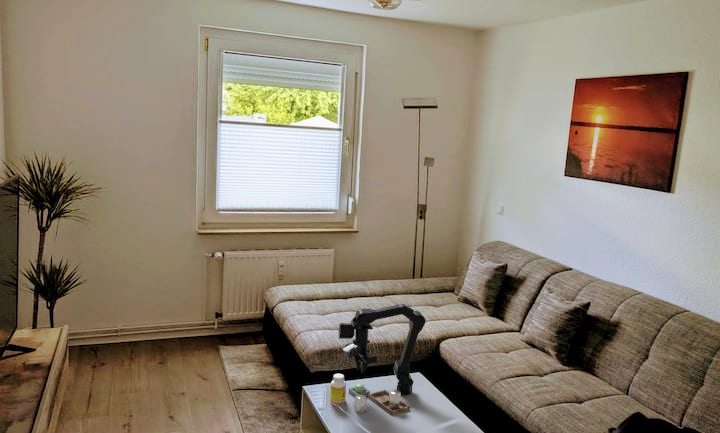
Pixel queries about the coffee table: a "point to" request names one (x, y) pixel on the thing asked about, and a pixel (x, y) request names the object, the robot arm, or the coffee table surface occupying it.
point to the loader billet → (394, 399)
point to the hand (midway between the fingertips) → (360, 371)
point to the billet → (360, 403)
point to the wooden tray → (387, 402)
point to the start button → (359, 387)
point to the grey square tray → (352, 391)
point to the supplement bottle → (338, 390)
